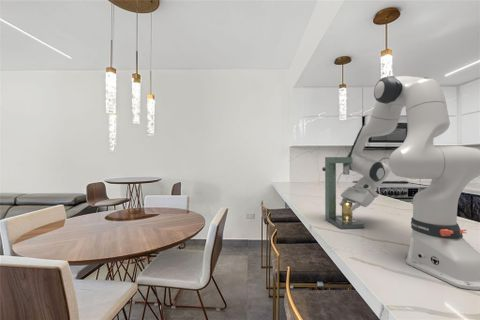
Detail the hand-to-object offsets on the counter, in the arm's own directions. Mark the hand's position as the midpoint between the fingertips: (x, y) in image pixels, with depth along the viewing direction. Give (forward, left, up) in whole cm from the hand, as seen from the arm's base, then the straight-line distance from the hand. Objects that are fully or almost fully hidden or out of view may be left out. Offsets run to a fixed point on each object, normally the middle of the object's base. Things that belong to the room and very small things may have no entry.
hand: (345, 207), depth 117 cm
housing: (0, -1, -6) cm, 6 cm away
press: (+4, +1, -9) cm, 9 cm away
